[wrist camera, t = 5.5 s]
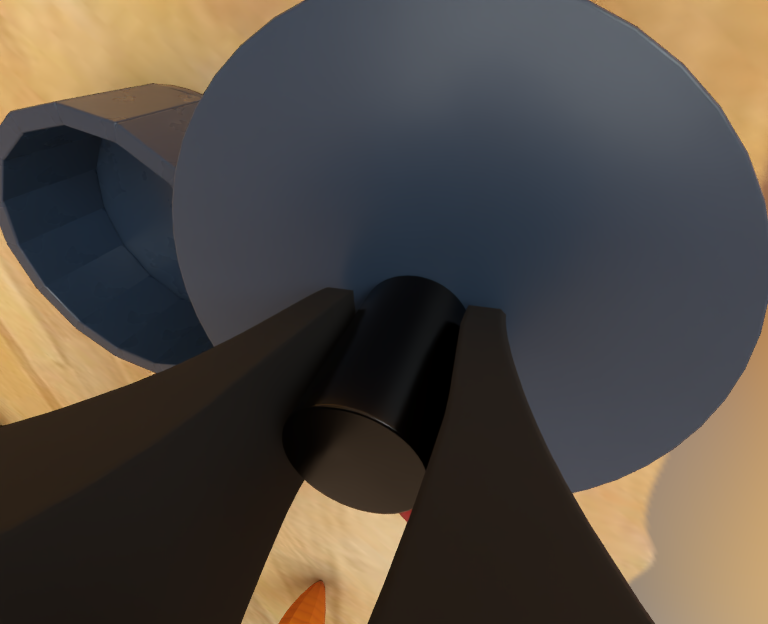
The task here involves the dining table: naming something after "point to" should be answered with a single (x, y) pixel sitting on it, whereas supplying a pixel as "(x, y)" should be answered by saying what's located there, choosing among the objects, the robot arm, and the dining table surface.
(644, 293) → the lid
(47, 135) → the pan
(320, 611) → the carrot
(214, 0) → the dining table surface
